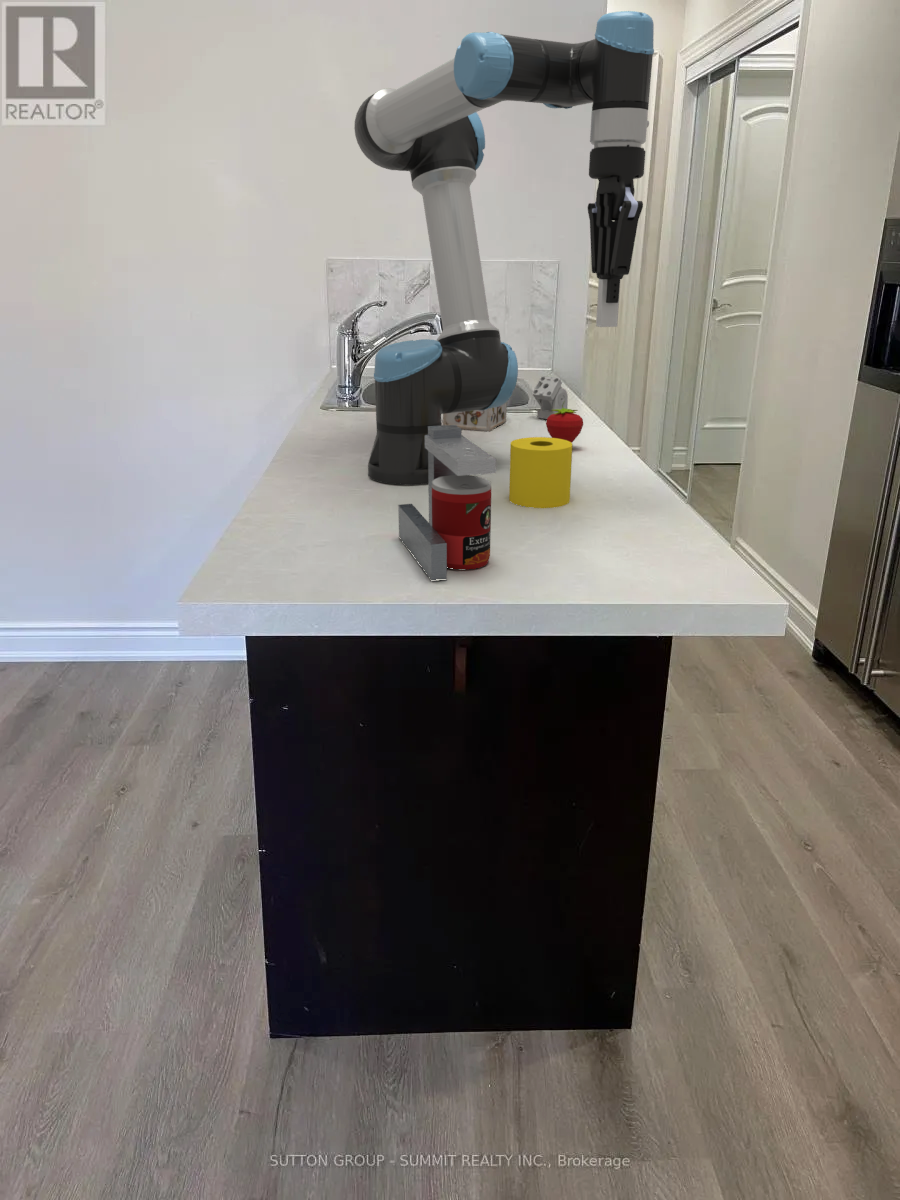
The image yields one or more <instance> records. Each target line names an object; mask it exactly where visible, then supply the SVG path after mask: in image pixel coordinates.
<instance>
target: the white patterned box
mask: <svg viewBox="0 0 900 1200" xmlns="http://www.w3.org/2000/svg"><path fill="white" fill-rule="evenodd" d="M507 405H508V401H507V402H506V403H504V404H503V405H501V406H499V407H495V408H489V409H486V410H483V411H479V410H473V411H464V412H455V413H446V414H442V425H457V426H458V427H459V428H461V429H462V430H463V429H465V430H464V431H477V432H487V431H489V432H491V431H492V429H493V430H494V429H496V428H498V427H500V426H501V425H504V424H505V423H507V409H508V408H507ZM503 423H504V424H503ZM499 425H500V426H499ZM497 426H498V427H497ZM495 427H496V428H495Z"/></svg>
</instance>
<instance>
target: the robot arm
mask: <svg viewBox="0 0 900 1200" xmlns="http://www.w3.org/2000/svg"><path fill="white" fill-rule="evenodd" d="M654 29H655V27H654V20H653V18H652V17H651V16H650V15H649V14H647V13H645V12H641V11H631V10H628V11H627V10H626V11H625V10H624V11H614V12H608V13H604V14H602V15H601V16H600V18H599V19H598V20H597V22H596V29H595V34H594V39H591V40H587V41H583V42H579V43H577V42H575V43H572V42H571V43H570V42H560V41H553V40H545V39H537V38H532V37H531V38H529V37H523V36H515V35H509V34H502V33H501V34H500V33H499V32H494V31H487V32H476V31H475V32H471V33H468V34H466V35H465V36H464V37H463V38H462V39H461V43H460V44H459V45H458V46H457V48H456V49H455V50H456V51H455V55H454V58H452V59H450V60H449V61H447V62H445V63H442V64H441V65H439V66H437V67H435V68H434V69H432V70H430V71H428V72H427V73H426V72H425V73H424V74H422V75H420V76H419V77H417V78H415V79H413V80H412V81H409V82H408V83H406V84H404V85H402V86H400V87H398V88H389V87H388V88H383V89H380V90H378V91H377V92H375V93H373V94H372V95H370V96H368V97H367V98H366V99H365V100H364V101H363V102H362V104H360V106H359V107H358V110H357V112H356V115H355V119H354V128H353V129H354V136H355V138H356V139H355V140H356V142H357V144H358V147H359V149H360V151H361V152H362V153H363V155H364V156H365V157H366V158H367V159H368V160H369V161H370V162H371V163H373V164H374V165H376V166H377V167H380V168H383V169H387V170H390V171H399V172H400V171H403V172H409V174H410V179H411V186H412V188H413V189H414V190H415V191H416V192H418V193H419V194H421V196H422V201H423V207H424V214H425V221H426V228H427V234H428V240H429V242H428V243H429V247H430V254H431V260H432V266H433V267H432V268H433V273H434V279H435V286H436V292H437V293H436V295H437V300H438V306H439V313H440V320H441V326H442V331H441V333H440V335H439V336H438V337H437V339H430V338H429V339H416V340H413V339H412V340H405V341H400V342H399V341H398V342H396V343H391V344H388V345H386V346H383V347H381V348H380V349H379V350H378V351H377V353H376V354H375V356H374V357H375V358H374V371H373V378H374V392H375V393H374V394H375V418H376V419H375V420H376V421H375V422H376V423H375V424H376V432H375V433H376V435H375V439H374V442H373V445H372V448H371V452H370V455H369V459H368V462H367V463H368V464H367V473H368V474H367V475H368V477H369V479H371V480H373V481H375V482H378V483H383V484H389V485H398V486H400V485H402V486H407V485H408V486H412V485H416V486H417V485H427V484H428V485H429V481H428V450H427V449H426V448H425V435H428V426H442V415H443V414H446V413H455V412H464V411H473V410H479V411H483V410H486V409H489V408H495V407H499V406H501V405H503V404H504V403H506V402H507V403H508V401H509V400H510V399H511V396H512V395H513V392H514V391H515V389H516V386H517V383H518V376H519V375H518V374H519V365H518V363H519V362H518V358H517V355H516V353H515V350H513V348H512V346H511V345H510V344H508V343H506V342H502V340H501V333H500V329H499V328H498V327H497V326H495V325H494V324H492V323H491V321H490V318H489V317H490V316H489V310H488V303H487V296H486V288H485V284H484V277H483V270H482V269H483V267H482V263H481V256H480V249H479V243H478V236H477V235H478V234H477V229H476V221H475V215H474V208H473V201H472V196H471V185H472V183H473V182H474V181H475V180H476V178H477V170H478V169H479V168H480V166H481V165H482V162H483V160H484V157H485V154H484V152H483V151H484V150H485V149H486V135H485V130H484V125H483V123H482V119H481V117H480V115H479V114H478V112H480V111H482V110H484V109H487V108H490V107H492V106H495V105H496V104H499V103H502V102H506V101H508V102H509V101H511V102H512V101H513V102H524V103H525V102H526V103H534V104H535V103H537V104H543V105H544V106H545V107H547V108H550V109H566V110H568V109H572V108H573V107H576V106H582V105H586V104H591V103H592V104H591V117H590V136H589V142H590V143H591V145H593V148H591V150H590V151H589V162H588V163H589V164H588V176H589V177H590V178H591V179H593V180H598V185H597V189H596V196H595V202H593V203H591V202H589V203H588V205H587V213H588V214H587V215H588V218H589V230H590V232H589V233H590V236H589V237H590V259H591V261H590V262H591V263H590V264H591V273H593V274H596V278H597V279H598V284H597V285H598V286H597V287H598V288H597V303H596V319H595V320H596V321H595V326H596V327H599V328H614V327H615V328H616V327H617V328H618V322H619V321H618V320H619V305H620V294H621V293H620V291H621V280H622V279H623V278H624V276H628V275H629V274H630V270H631V265H632V264H631V263H632V258H633V253H634V246H635V241H636V237H637V230H638V225H639V219H640V216H641V213H642V210H643V207H644V203H643V201H642V200H636V198H635V197H634V196H635V184H634V183H635V181H634V180H636V179H637V180H638V179H640V178H642V177H643V176H644V175H645V163H646V150H645V148H644V147H642V145H643V144H644V143H645V144H646V141H647V140H646V139H647V129H648V127H649V125H650V121H649V120H648V117H649V115H648V114H649V106H650V104H649V103H650V93H651V81H652V80H651V79H652V70H653V69H652V67H653V56H654V53H655V49H654V35H655V33H654Z"/></svg>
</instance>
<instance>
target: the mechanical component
mask: <svg viewBox="0 0 900 1200" xmlns="http://www.w3.org/2000/svg"><path fill="white" fill-rule="evenodd" d="M562 385H563V382H562V380H561V378H560V377H554V376H545V375H542V376H540V377H539V380H538V381H537V383H536V385H535V387H534V388H533V390H532V392H531V394H532V396H533V398H534V399H535V401H536V402H537V403H538V405H539V406H540V409H538V410H537V411H536V412H537V413H536V414H537V415H536V417H537V418H539V419H544V420H545V419H546V420H547V418H548V417H549V416H550V415H551V414H555V413H557V411H552V410H555V409H562V405H563V408H565V409H568V406H569V405H568V402H569V399H568V392H567V390H566V389H565V388H563V387H562ZM564 401H565V402H564ZM563 403H564V404H563Z"/></svg>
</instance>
